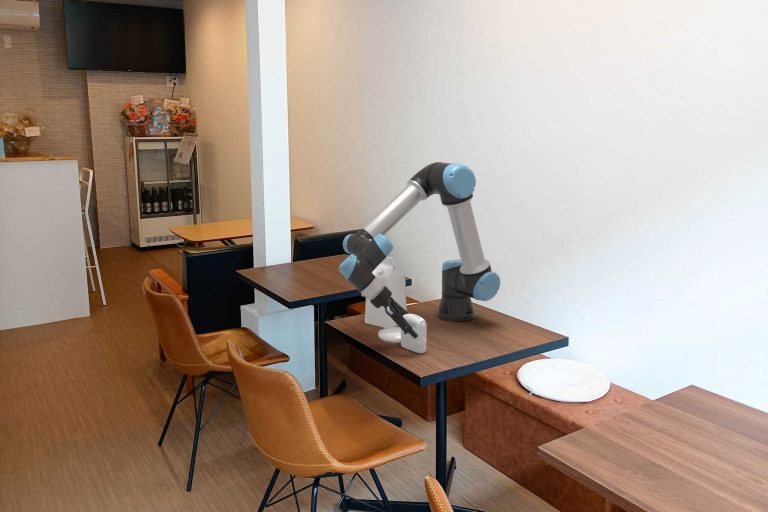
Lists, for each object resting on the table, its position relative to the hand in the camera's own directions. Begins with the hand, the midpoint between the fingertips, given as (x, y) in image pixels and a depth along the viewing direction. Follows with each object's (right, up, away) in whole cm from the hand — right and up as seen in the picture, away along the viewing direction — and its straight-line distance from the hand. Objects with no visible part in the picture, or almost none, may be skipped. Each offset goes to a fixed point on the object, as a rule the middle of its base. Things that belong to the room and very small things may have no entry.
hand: (422, 338), depth 225 cm
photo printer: (-3, -4, +1) cm, 5 cm away
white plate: (-8, -1, +15) cm, 17 cm away
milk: (-13, +2, +31) cm, 34 cm away
